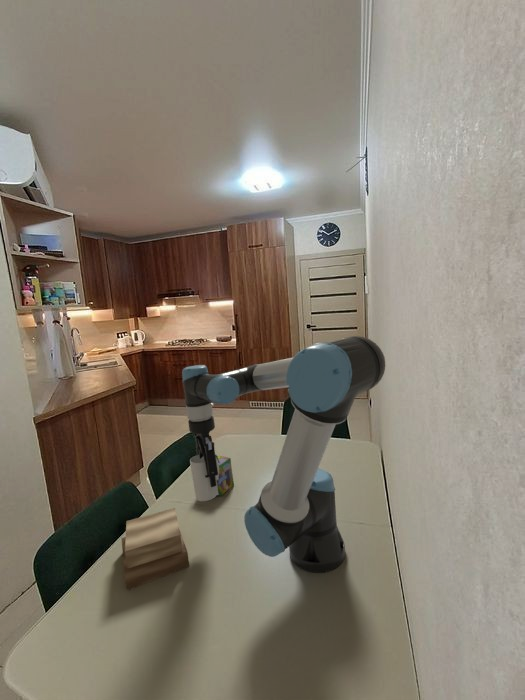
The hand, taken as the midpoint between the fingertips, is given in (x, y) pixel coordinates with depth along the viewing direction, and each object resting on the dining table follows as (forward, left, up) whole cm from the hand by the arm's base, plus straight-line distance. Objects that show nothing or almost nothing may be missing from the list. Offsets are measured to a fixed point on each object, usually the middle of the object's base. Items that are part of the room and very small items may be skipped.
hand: (210, 490), depth 106 cm
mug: (+1, 0, -2) cm, 2 cm away
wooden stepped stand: (-2, +18, -15) cm, 24 cm away
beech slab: (-1, +18, -10) cm, 20 cm away
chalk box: (+25, -9, -14) cm, 30 cm away
